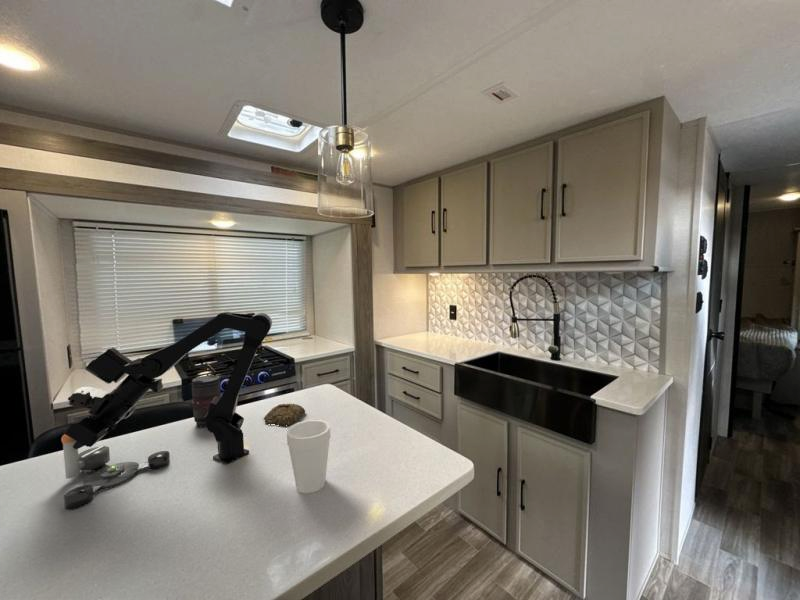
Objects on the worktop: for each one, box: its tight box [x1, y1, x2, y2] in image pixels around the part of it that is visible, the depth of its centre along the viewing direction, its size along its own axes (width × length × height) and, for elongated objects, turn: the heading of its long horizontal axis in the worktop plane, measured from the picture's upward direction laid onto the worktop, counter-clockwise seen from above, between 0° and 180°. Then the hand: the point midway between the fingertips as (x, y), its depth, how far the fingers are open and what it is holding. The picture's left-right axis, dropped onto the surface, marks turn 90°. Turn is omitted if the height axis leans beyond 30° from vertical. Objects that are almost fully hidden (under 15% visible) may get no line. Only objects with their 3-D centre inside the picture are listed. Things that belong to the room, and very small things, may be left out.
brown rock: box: [263, 403, 306, 427], centre depth 111 cm, size 13×12×5 cm
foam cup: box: [286, 419, 331, 494], centre depth 74 cm, size 10×9×13 cm
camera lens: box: [191, 375, 222, 428], centre depth 108 cm, size 8×8×15 cm
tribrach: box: [63, 450, 171, 511], centre depth 80 cm, size 18×20×3 cm
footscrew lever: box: [60, 433, 111, 479], centre depth 81 cm, size 9×6×11 cm, turn 176°
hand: (75, 447), depth 77 cm, fingers closed, pressing on footscrew lever
